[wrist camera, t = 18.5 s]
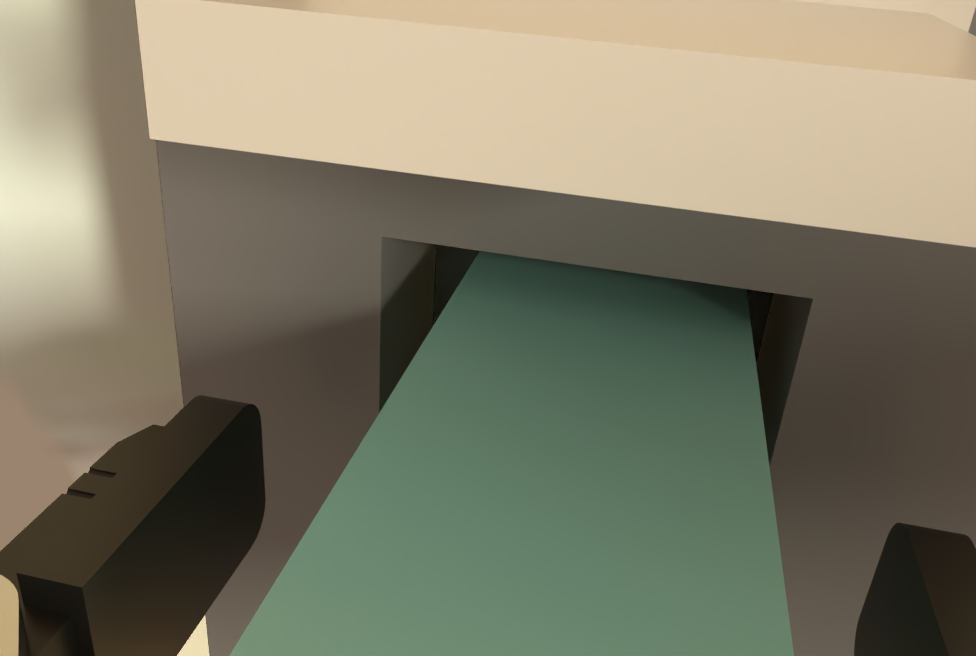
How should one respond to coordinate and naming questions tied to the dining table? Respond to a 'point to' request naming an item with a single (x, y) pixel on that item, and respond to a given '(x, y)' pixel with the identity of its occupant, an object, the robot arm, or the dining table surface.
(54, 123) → the dining table surface
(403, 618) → the teal flat-sided block
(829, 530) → the socket block
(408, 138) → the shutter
